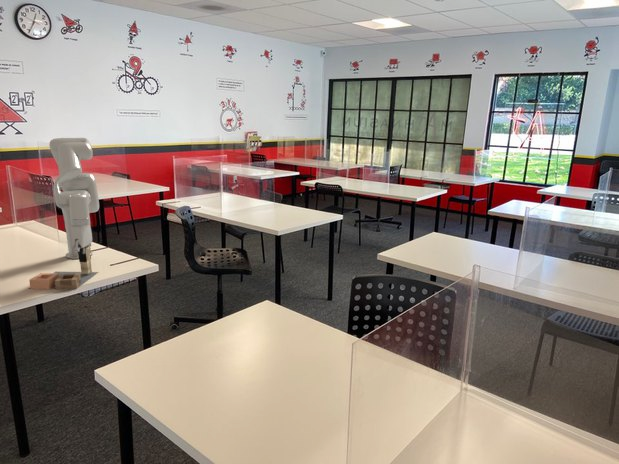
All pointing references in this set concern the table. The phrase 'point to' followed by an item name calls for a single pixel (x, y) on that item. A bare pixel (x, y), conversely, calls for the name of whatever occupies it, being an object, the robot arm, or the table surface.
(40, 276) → the salmon pink square box
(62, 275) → the brown square ring
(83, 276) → the charcoal mat
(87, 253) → the beige wooden post
